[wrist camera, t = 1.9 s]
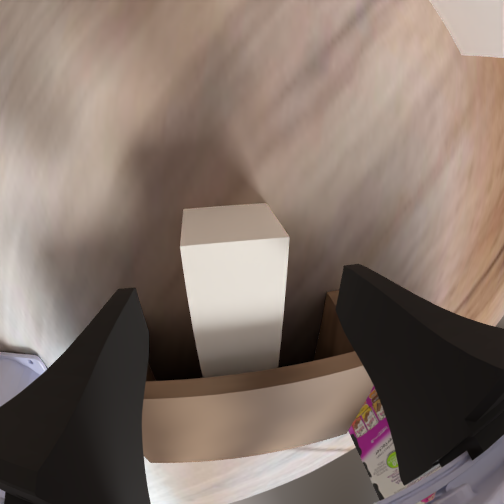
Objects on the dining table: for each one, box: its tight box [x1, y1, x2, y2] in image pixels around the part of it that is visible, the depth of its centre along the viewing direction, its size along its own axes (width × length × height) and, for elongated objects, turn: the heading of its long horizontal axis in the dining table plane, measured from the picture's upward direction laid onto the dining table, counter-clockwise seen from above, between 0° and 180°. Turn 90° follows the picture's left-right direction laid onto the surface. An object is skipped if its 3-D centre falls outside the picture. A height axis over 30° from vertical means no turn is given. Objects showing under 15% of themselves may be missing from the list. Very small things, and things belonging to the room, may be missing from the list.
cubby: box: [142, 290, 374, 463], centre depth 16 cm, size 14×9×6 cm, turn 90°
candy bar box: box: [348, 386, 441, 504], centre depth 18 cm, size 11×5×16 cm, turn 148°
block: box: [180, 203, 290, 378], centre depth 14 cm, size 4×9×4 cm, turn 179°
